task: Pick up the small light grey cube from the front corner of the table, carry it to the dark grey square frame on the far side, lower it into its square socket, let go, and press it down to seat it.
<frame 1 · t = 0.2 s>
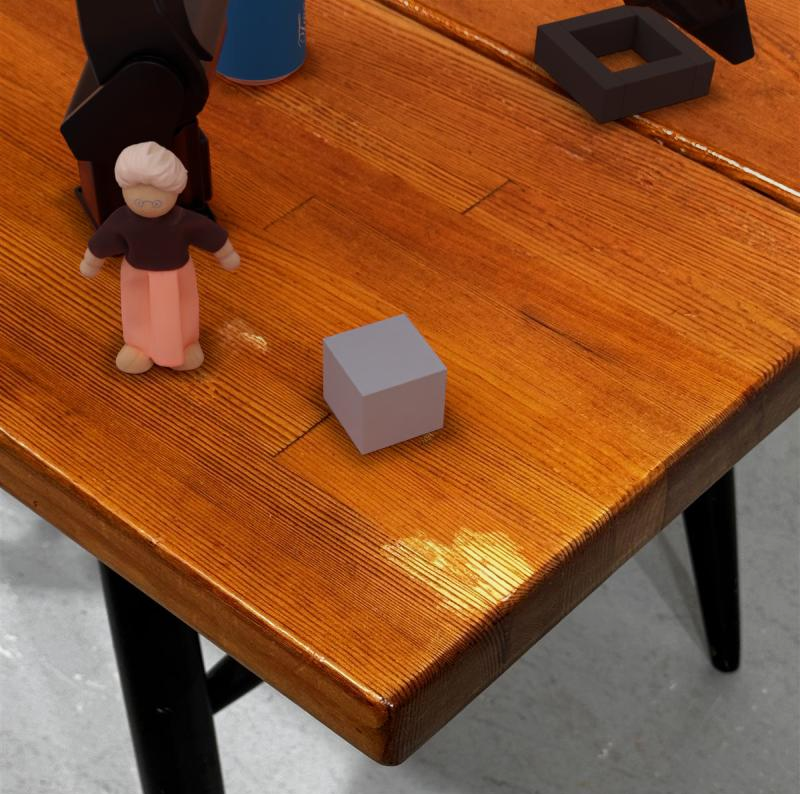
hand: (736, 10, 72), 15 cm above the table, tool tilted 30°, fingers open, 9 cm apart
dark grey square frame: (620, 77, 95), on the table
grandmother figurine: (171, 357, 75), on the table
light grey cube: (382, 412, 73), on the table
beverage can: (256, 67, 95), on the table
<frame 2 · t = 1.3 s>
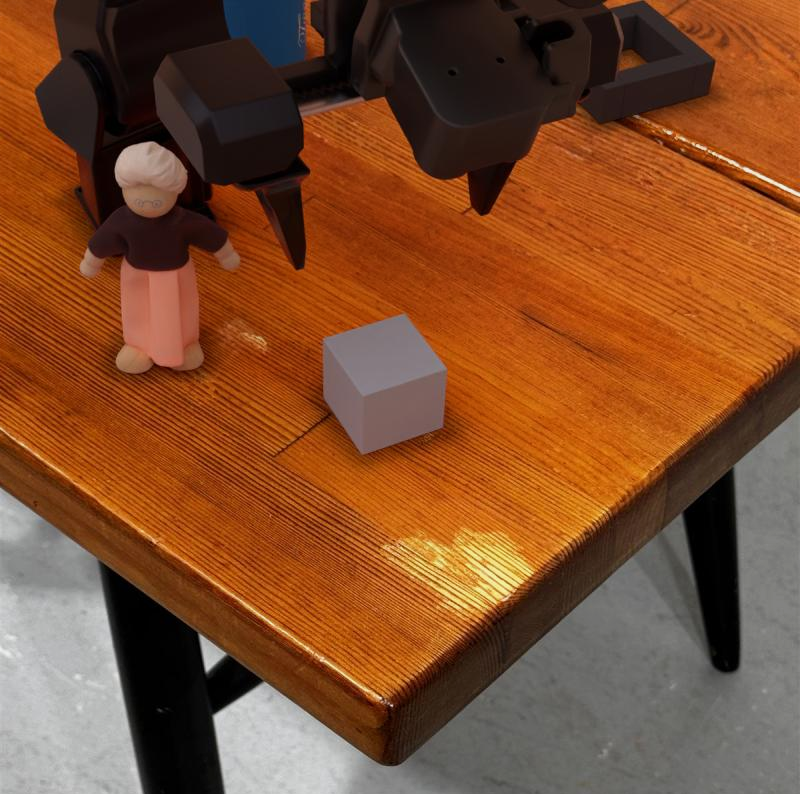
hand: (389, 237, 65), 11 cm above the table, tool pointing down, fingers open, 9 cm apart
nothing on the table moved.
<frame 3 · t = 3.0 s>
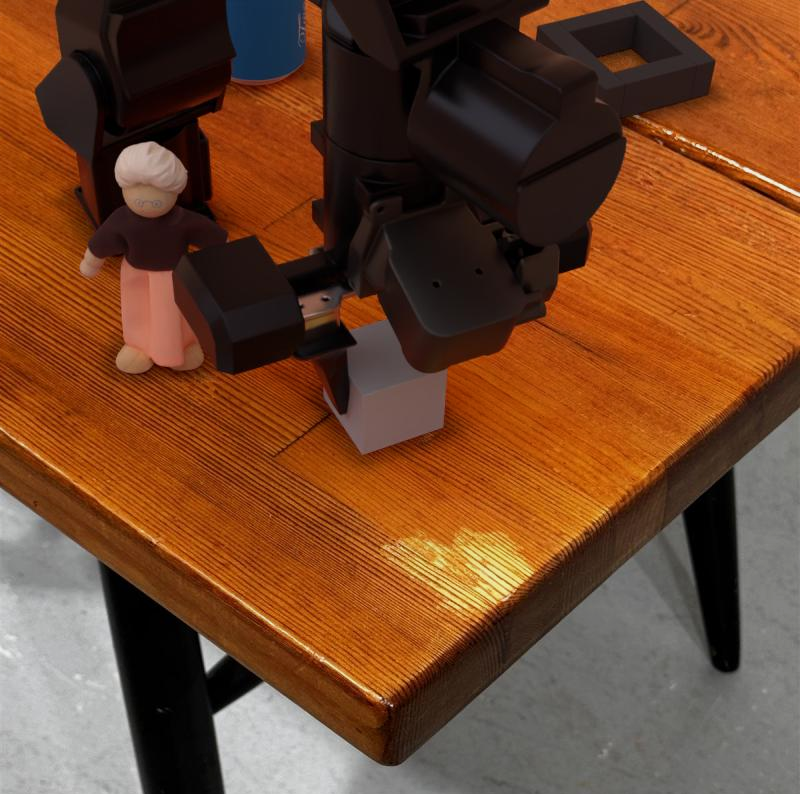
hand: (382, 395, 72), 1 cm above the table, tool pointing down, fingers closed on light grey cube, 4 cm apart
light grey cube: (382, 412, 73), on the table, touching gripper
everything else where it was.
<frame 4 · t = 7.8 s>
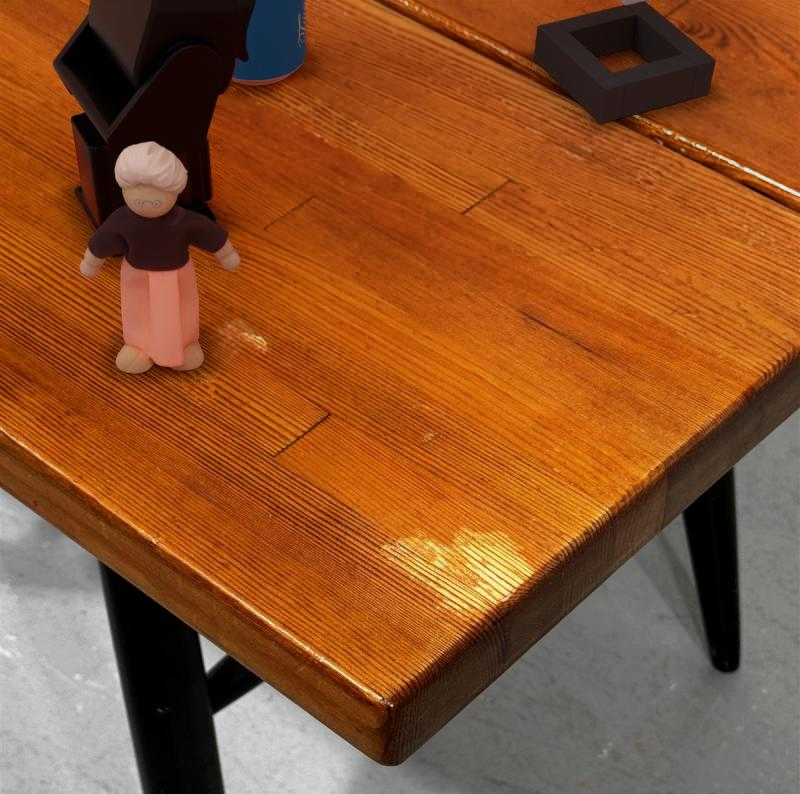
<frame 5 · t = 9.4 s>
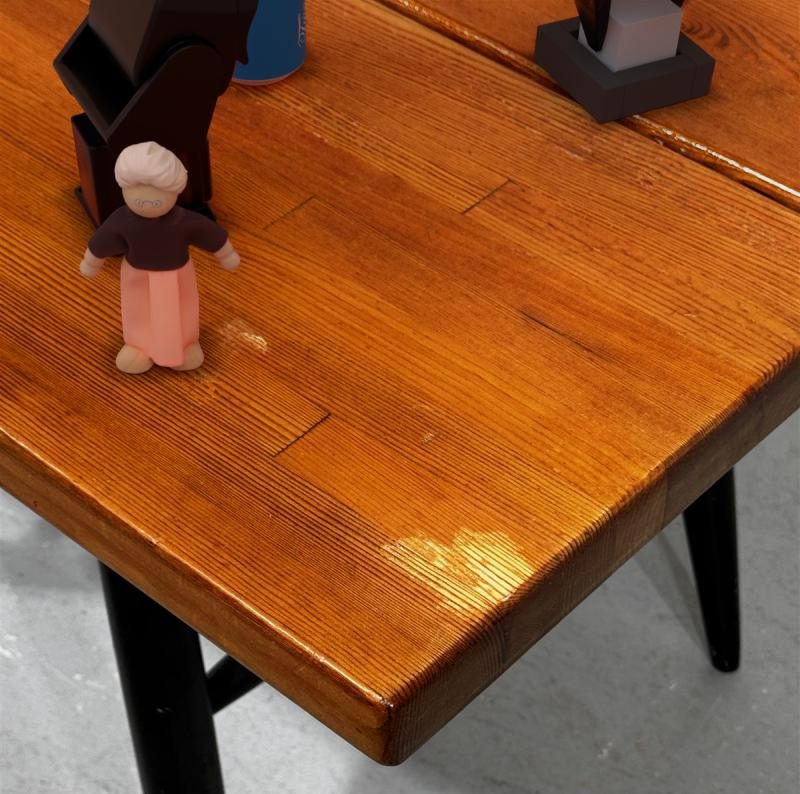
hand: (626, 40, 93), 3 cm above the table, tool pointing down, fingers closed on light grey cube, 4 cm apart
light grey cube: (624, 58, 94), point 1 cm above the table, touching gripper
everything else where it was.
when the fingers open (3 cm above the table, at t = 12.5 s): light grey cube drops 2 cm, resting in dark grey square frame.
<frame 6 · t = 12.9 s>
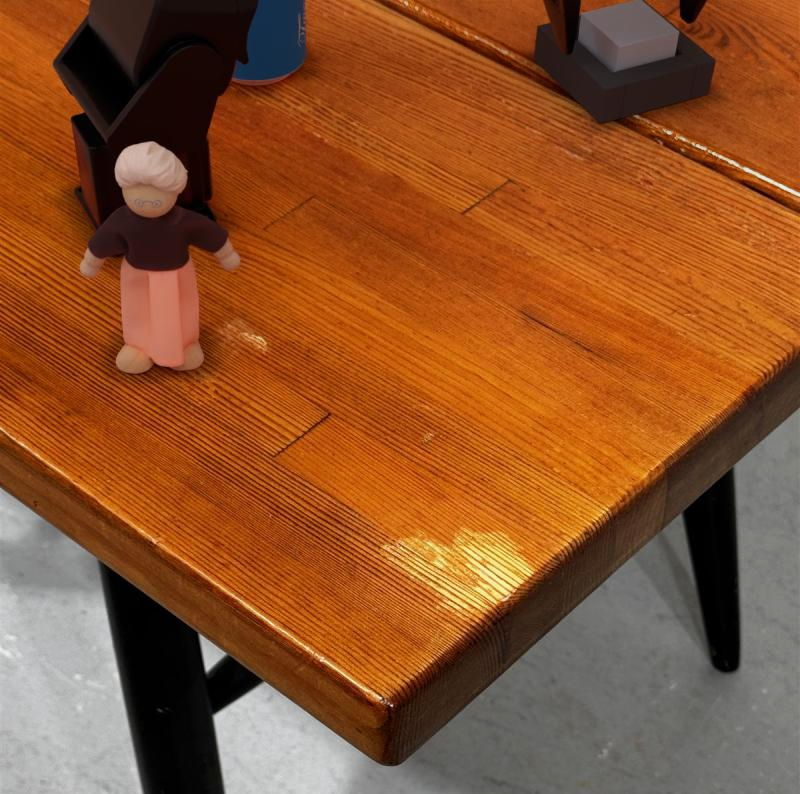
hand: (626, 36, 93), 3 cm above the table, tool pointing down, fingers open, 9 cm apart
light grey cube: (621, 78, 95), resting in dark grey square frame
everything else where it was.
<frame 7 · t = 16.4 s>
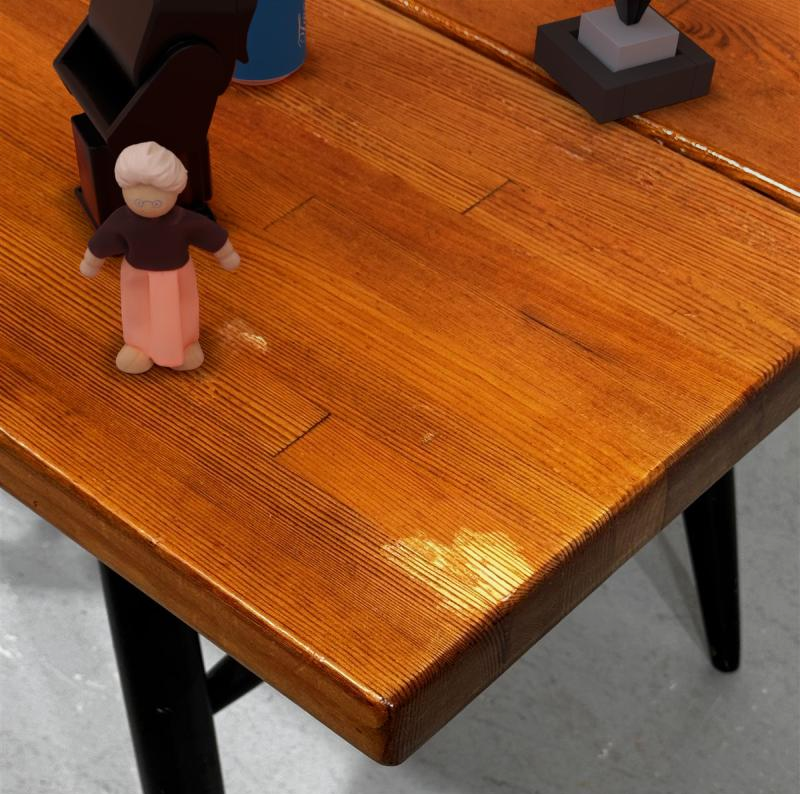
hand: (628, 22, 92), 4 cm above the table, tool pointing down, fingers closed, pressing on light grey cube
light grey cube: (621, 78, 95), resting in dark grey square frame, touching gripper
everything else where it was.
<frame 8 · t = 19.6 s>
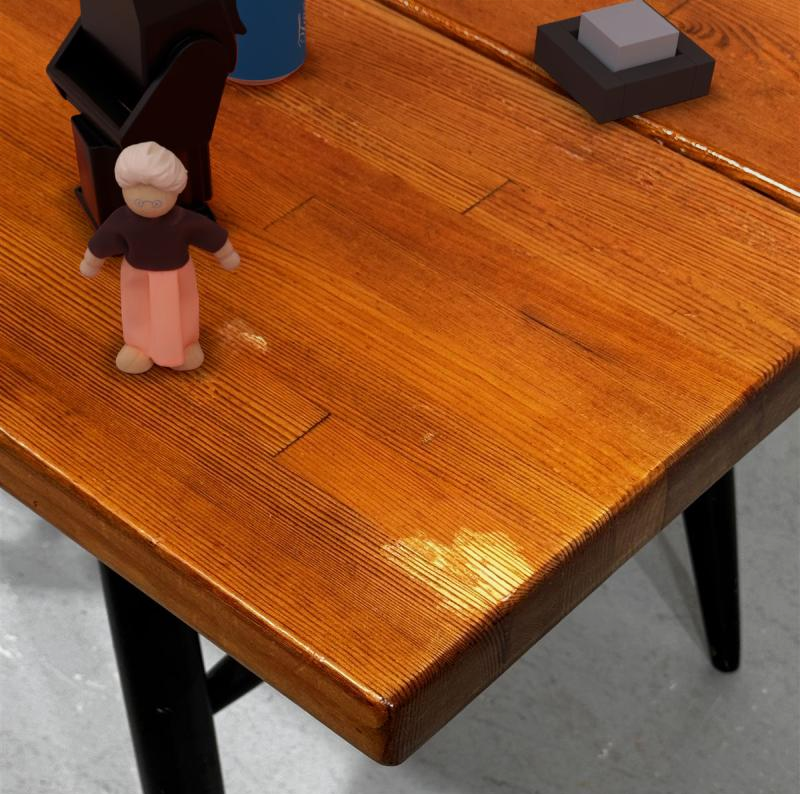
light grey cube: (621, 78, 95), resting in dark grey square frame
everything else where it was.
at the end: light grey cube 0.1 cm off-centre in the dark grey square frame, point 0.0 cm above the dark grey square frame's base; light grey cube tilted 0°; the gripper is holding nothing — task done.
